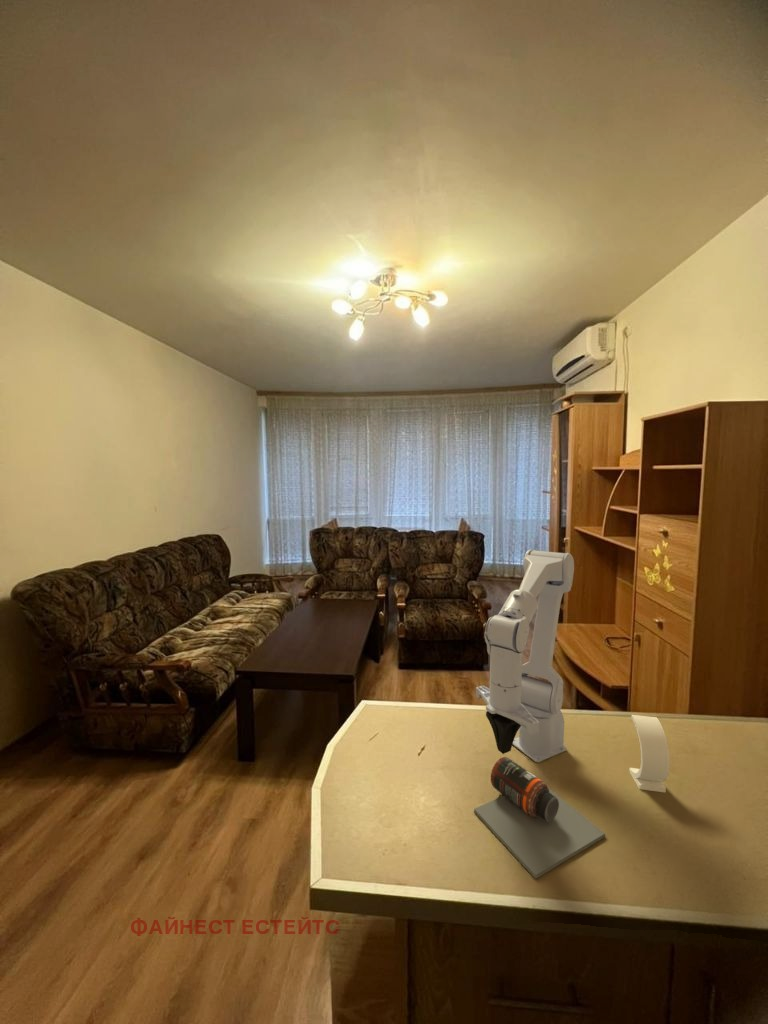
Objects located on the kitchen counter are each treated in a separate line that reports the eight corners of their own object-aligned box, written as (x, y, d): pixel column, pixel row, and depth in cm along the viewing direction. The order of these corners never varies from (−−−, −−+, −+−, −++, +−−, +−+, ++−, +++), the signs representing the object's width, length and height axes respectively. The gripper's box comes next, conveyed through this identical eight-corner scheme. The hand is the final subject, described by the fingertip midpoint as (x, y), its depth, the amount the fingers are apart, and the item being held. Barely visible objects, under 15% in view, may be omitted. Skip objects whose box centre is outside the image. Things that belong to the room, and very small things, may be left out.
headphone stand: (654, 774, 82) (656, 717, 82) (668, 796, 76) (671, 735, 76) (629, 771, 83) (631, 714, 82) (641, 793, 77) (643, 732, 77)
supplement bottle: (495, 793, 78) (547, 836, 68) (484, 774, 76) (537, 815, 66) (513, 768, 80) (566, 805, 71) (503, 748, 78) (556, 784, 69)
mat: (538, 782, 80) (538, 779, 80) (604, 836, 68) (605, 833, 68) (474, 812, 73) (474, 808, 73) (535, 878, 60) (535, 875, 60)
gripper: (464, 669, 81) (463, 735, 82) (518, 703, 68) (517, 781, 69) (491, 662, 84) (490, 726, 85) (548, 694, 71) (546, 768, 72)
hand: (504, 750), depth 77 cm, fingers closed
